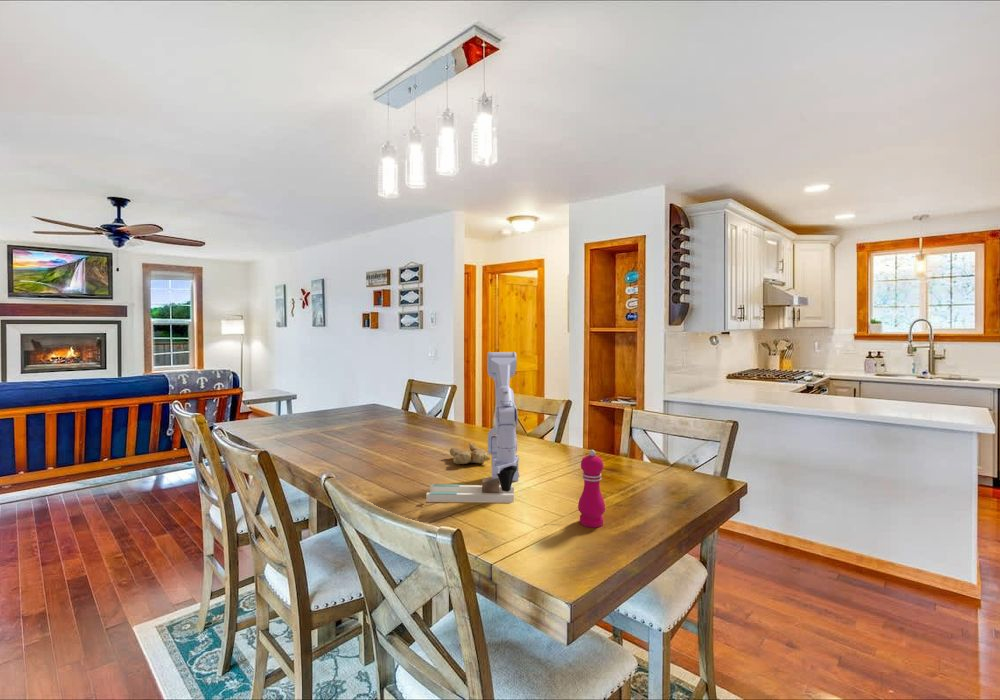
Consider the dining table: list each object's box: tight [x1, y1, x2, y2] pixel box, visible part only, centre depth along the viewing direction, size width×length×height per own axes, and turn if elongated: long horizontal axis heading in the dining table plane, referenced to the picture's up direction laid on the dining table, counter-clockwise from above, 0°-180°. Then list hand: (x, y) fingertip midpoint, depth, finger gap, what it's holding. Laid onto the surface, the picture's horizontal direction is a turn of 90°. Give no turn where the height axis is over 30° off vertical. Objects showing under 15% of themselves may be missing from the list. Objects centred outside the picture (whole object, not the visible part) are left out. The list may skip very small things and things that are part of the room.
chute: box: [425, 483, 515, 504], centre depth 154 cm, size 26×10×3 cm, turn 88°
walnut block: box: [481, 477, 500, 493], centre depth 154 cm, size 5×5×5 cm
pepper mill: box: [577, 449, 606, 528], centre depth 135 cm, size 7×7×20 cm
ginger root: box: [449, 442, 491, 466], centre depth 194 cm, size 16×16×8 cm
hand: (506, 490), depth 153 cm, fingers closed
